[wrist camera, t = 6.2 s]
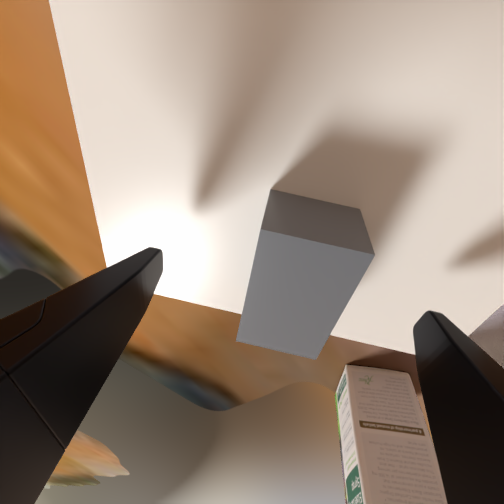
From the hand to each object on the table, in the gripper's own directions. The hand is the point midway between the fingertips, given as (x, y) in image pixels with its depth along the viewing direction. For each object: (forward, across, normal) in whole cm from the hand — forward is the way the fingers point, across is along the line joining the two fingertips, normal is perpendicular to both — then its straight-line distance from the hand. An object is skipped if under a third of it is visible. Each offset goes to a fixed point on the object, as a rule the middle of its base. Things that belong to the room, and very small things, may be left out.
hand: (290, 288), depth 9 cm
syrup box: (+9, -12, +18) cm, 23 cm away
